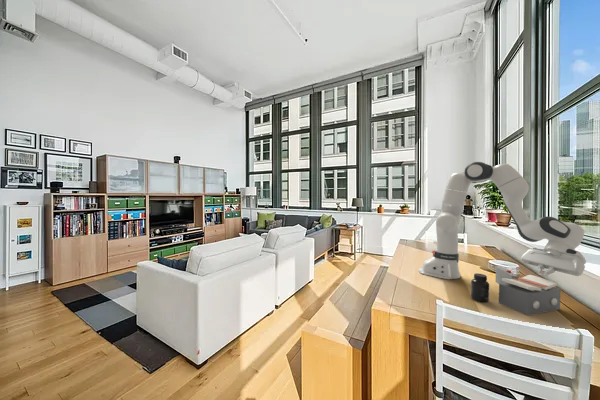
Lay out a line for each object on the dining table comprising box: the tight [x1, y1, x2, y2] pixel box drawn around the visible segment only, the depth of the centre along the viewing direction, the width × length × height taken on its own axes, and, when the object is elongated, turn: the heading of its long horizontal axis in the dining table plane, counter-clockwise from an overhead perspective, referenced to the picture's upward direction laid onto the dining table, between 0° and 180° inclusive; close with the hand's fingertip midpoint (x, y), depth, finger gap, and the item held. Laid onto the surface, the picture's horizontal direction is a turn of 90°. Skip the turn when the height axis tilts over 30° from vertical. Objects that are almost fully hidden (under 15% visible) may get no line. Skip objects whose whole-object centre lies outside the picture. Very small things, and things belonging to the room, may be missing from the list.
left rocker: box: [502, 278, 542, 291], centre depth 102 cm, size 8×10×2 cm
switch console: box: [498, 283, 562, 316], centre depth 103 cm, size 20×12×9 cm, turn 105°
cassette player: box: [495, 265, 519, 285], centre depth 124 cm, size 16×3×10 cm, turn 163°
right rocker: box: [518, 274, 559, 290], centre depth 105 cm, size 8×10×2 cm
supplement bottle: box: [470, 273, 490, 304], centre depth 109 cm, size 7×7×12 cm
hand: (541, 274), depth 105 cm, fingers closed
